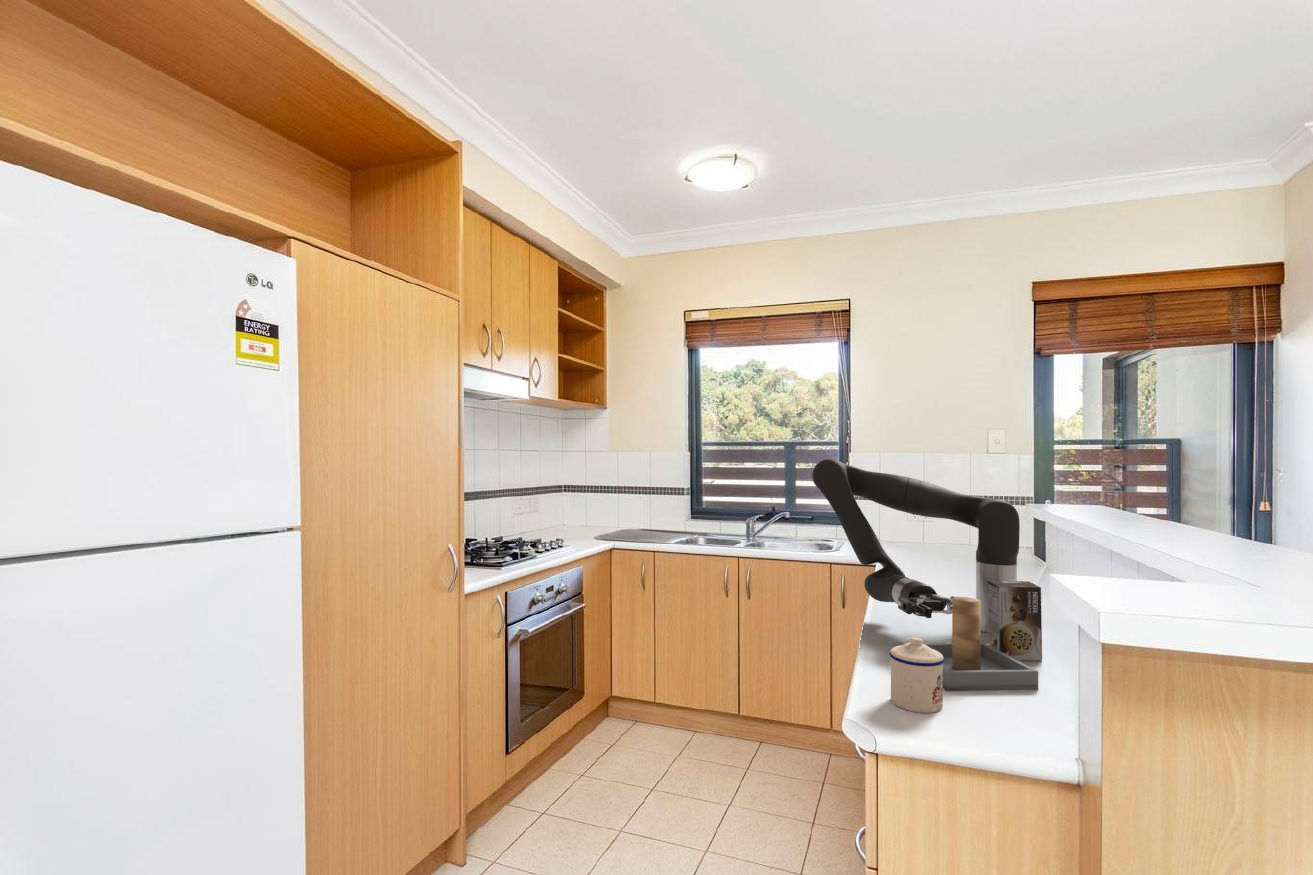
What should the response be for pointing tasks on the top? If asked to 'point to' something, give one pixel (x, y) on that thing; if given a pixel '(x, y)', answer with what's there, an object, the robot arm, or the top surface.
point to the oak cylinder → (966, 633)
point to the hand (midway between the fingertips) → (949, 613)
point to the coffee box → (1015, 619)
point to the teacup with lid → (917, 677)
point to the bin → (987, 672)
